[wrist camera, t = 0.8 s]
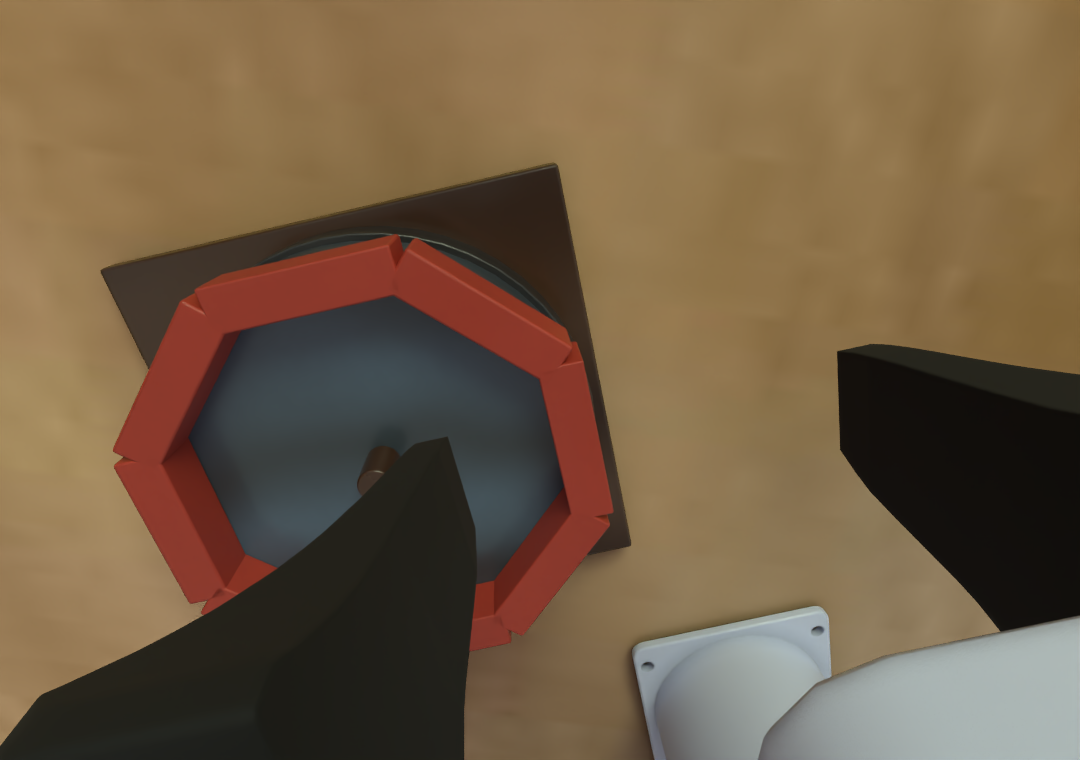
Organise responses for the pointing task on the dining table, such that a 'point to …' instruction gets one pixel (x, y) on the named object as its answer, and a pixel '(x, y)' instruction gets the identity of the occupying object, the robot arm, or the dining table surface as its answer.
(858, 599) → the dining table surface
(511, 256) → the stand
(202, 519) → the brick ring
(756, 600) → the dining table surface
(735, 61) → the dining table surface
